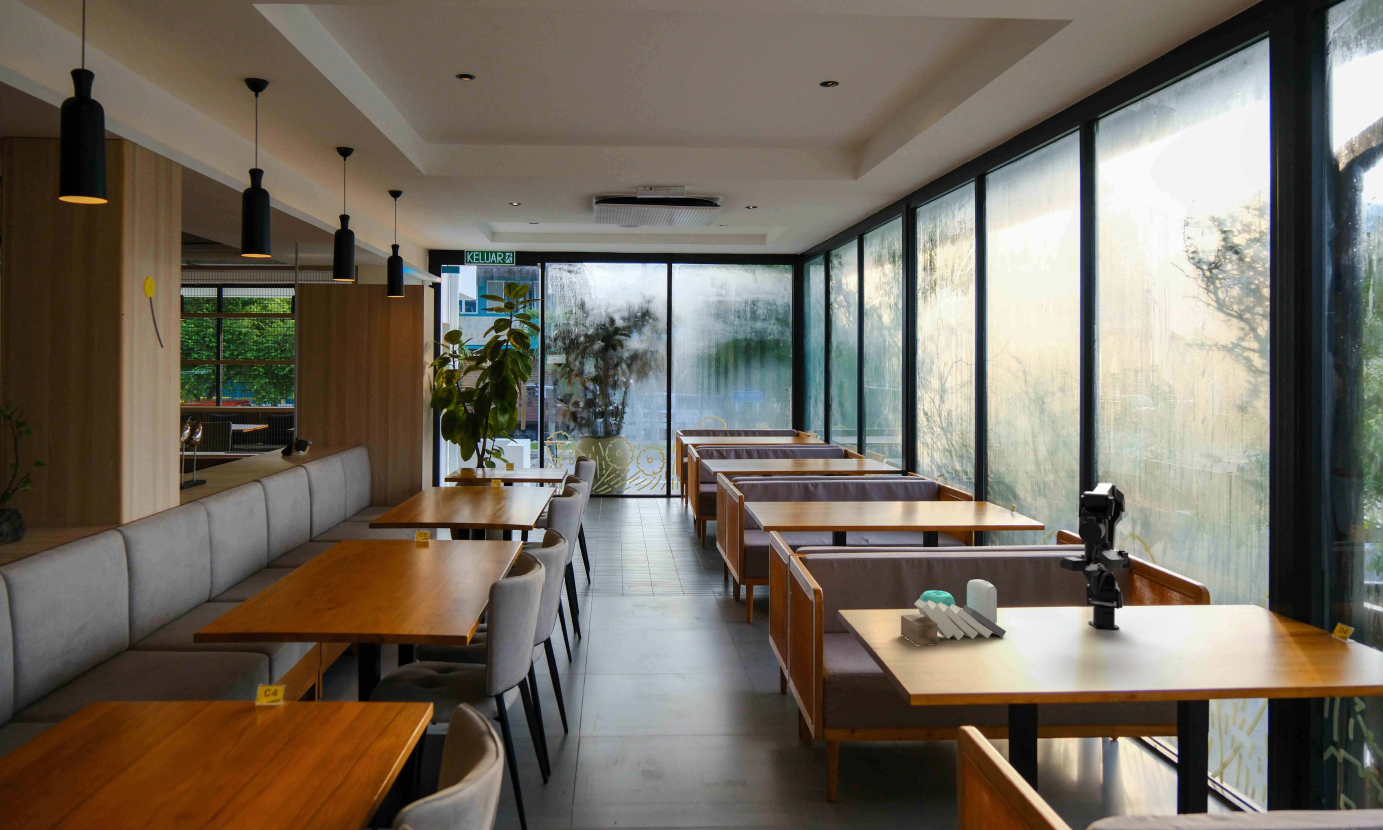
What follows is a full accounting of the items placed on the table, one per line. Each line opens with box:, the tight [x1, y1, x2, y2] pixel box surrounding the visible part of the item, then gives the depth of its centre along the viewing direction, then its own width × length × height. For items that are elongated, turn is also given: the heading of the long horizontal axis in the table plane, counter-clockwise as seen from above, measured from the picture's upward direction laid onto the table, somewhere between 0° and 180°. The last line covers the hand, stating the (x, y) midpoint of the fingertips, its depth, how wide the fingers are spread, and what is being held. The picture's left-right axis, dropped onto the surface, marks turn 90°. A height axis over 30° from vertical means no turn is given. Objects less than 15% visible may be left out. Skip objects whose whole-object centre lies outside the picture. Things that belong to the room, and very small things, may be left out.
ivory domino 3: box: [938, 602, 978, 640], centre depth 235 cm, size 2×5×12 cm
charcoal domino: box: [961, 604, 1007, 638], centre depth 237 cm, size 2×5×12 cm
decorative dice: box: [918, 590, 957, 616], centre depth 254 cm, size 8×8×8 cm
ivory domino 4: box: [950, 604, 993, 639], centre depth 236 cm, size 2×5×12 cm
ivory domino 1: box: [914, 598, 953, 640], centre depth 234 cm, size 2×5×12 cm
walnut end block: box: [900, 613, 938, 646], centre depth 233 cm, size 6×10×6 cm, turn 11°
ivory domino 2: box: [927, 600, 965, 641], centre depth 235 cm, size 2×5×12 cm
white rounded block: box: [966, 578, 998, 625], centre depth 252 cm, size 10×4×12 cm, turn 20°
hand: (1095, 593), depth 232 cm, fingers closed
